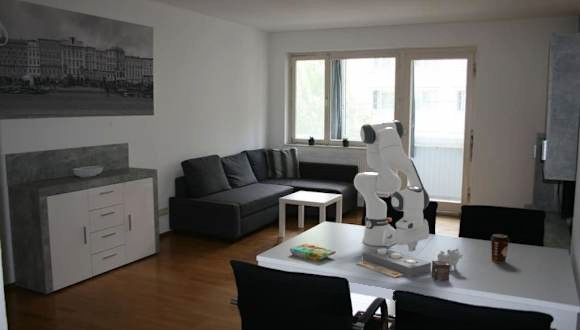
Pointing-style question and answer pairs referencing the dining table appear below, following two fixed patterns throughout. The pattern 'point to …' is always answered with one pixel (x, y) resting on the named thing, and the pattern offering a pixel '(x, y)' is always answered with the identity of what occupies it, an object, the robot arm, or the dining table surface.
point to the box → (440, 270)
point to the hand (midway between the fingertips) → (412, 250)
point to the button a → (381, 251)
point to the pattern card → (380, 269)
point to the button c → (410, 261)
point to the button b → (395, 255)
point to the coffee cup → (499, 247)
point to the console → (397, 262)
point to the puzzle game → (311, 252)
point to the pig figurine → (450, 257)
